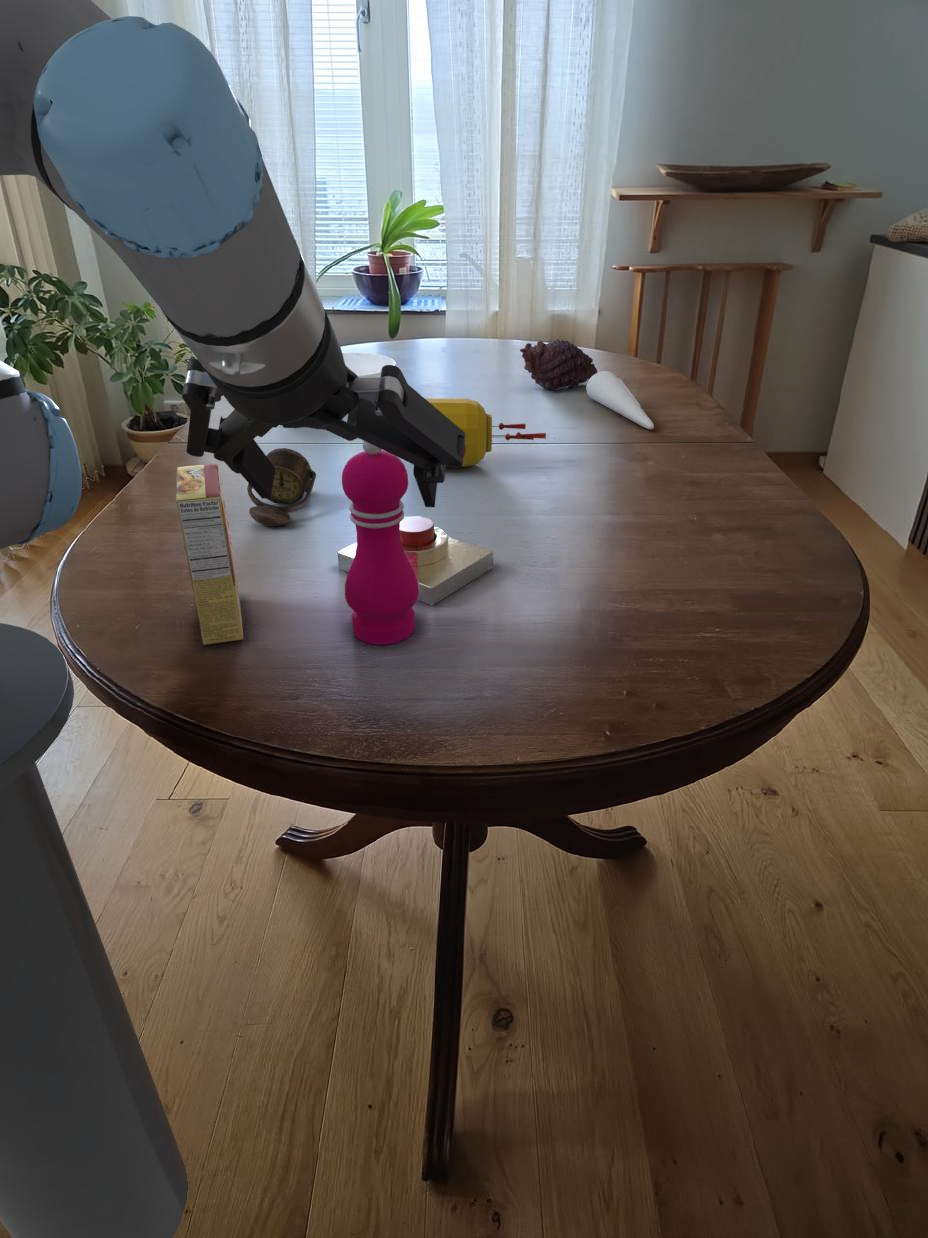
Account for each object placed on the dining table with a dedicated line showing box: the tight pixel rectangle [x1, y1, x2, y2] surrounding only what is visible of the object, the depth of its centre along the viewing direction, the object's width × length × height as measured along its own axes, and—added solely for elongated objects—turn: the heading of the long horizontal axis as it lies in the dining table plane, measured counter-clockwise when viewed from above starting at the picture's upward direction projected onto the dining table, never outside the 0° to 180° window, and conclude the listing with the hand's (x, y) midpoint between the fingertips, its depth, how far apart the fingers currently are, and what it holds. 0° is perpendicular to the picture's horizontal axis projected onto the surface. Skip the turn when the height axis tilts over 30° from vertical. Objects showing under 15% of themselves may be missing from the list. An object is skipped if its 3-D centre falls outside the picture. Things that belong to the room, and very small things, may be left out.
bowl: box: [342, 352, 397, 378], centre depth 151 cm, size 20×20×6 cm
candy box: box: [175, 463, 244, 646], centre depth 77 cm, size 9×4×15 cm, turn 17°
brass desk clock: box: [246, 447, 317, 527], centre depth 104 cm, size 7×13×10 cm
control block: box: [337, 525, 494, 607], centre depth 90 cm, size 14×11×4 cm
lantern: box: [425, 398, 547, 468], centre depth 118 cm, size 10×10×30 cm
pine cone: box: [519, 339, 598, 391], centre depth 157 cm, size 18×10×10 cm
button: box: [399, 515, 435, 547], centre depth 88 cm, size 4×4×2 cm
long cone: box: [585, 370, 655, 431], centre depth 141 cm, size 6×6×19 cm
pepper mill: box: [341, 440, 419, 646], centre depth 74 cm, size 7×7×20 cm
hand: (349, 487), depth 64 cm, fingers open, 13 cm apart
